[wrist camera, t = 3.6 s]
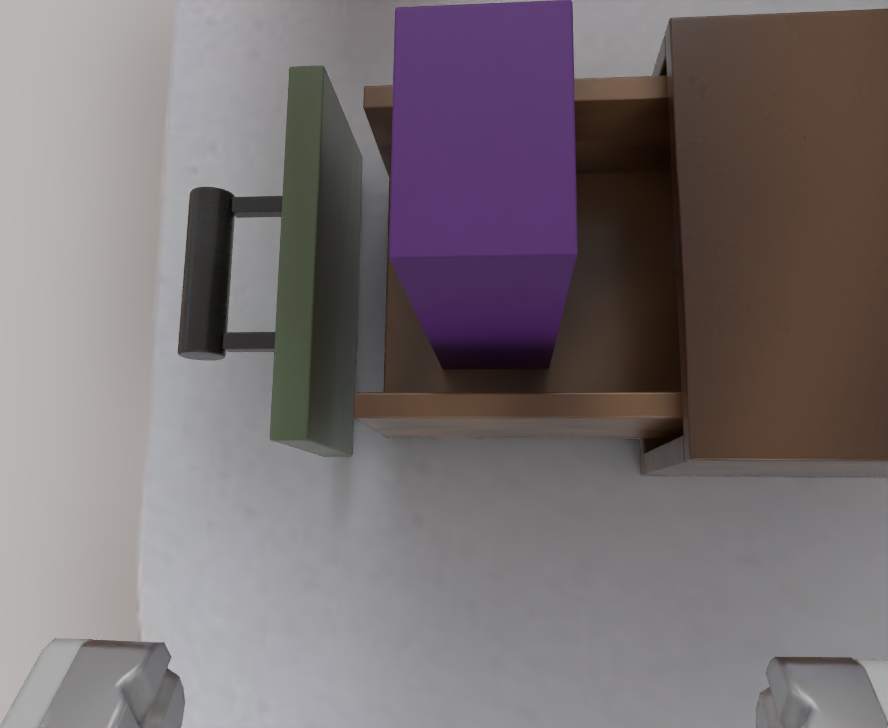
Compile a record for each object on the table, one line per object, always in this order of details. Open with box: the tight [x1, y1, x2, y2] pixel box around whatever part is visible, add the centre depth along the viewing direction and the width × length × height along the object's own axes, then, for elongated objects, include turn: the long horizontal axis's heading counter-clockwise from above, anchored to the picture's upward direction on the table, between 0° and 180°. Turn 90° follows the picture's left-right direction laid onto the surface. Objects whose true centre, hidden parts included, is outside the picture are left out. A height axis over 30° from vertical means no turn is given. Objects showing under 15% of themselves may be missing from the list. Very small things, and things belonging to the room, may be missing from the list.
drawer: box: [178, 66, 684, 457], centre depth 28 cm, size 19×12×7 cm, turn 89°
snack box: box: [389, 0, 578, 369], centre depth 23 cm, size 6×4×13 cm, turn 179°
